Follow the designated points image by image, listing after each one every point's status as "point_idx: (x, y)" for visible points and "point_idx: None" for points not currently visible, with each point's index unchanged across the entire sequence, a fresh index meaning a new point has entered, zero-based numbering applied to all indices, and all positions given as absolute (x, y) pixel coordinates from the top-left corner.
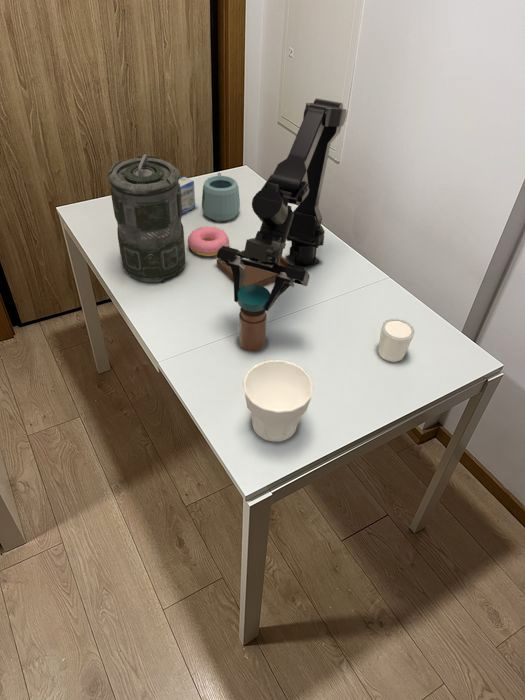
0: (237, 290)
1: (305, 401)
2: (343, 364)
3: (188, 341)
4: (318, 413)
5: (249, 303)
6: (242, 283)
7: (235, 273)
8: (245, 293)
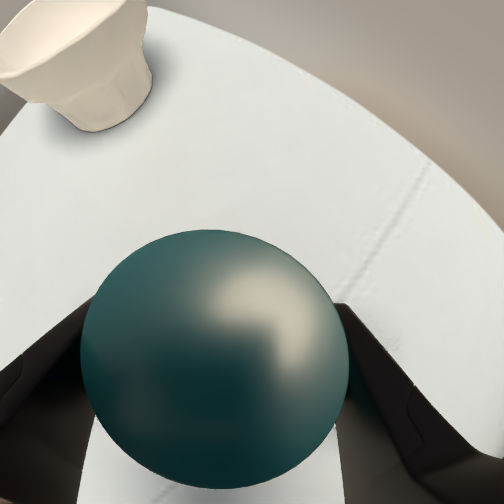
0: (359, 355)
1: (12, 19)
2: (4, 322)
3: (417, 251)
4: (34, 157)
5: (199, 241)
6: (349, 458)
7: (457, 461)
8: (282, 360)
